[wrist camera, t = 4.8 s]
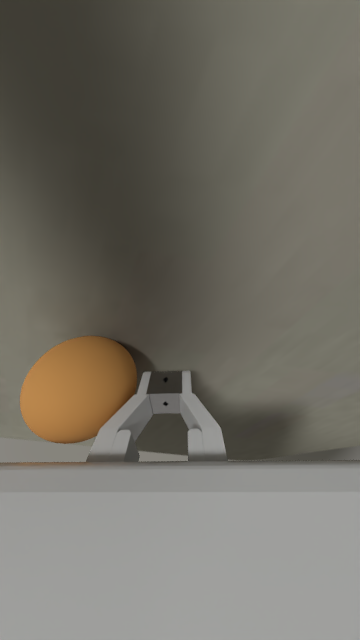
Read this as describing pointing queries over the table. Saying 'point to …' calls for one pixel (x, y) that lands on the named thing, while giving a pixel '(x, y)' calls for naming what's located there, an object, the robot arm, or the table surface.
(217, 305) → the table surface
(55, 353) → the ball
